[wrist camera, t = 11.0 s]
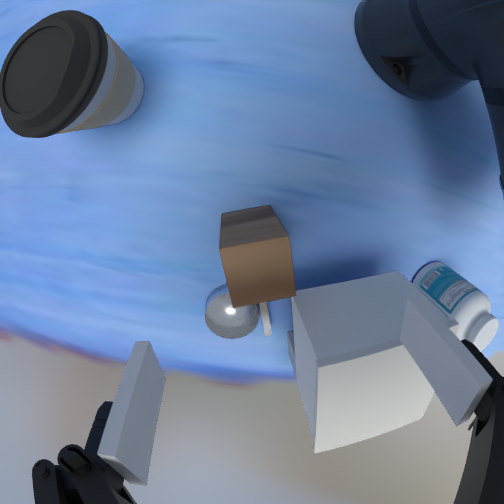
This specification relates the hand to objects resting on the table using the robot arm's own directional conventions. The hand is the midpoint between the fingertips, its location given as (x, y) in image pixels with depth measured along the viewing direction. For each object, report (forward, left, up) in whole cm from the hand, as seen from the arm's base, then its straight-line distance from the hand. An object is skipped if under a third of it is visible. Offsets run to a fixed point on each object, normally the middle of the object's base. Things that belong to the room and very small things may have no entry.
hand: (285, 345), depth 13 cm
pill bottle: (+12, +24, -19) cm, 32 cm away
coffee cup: (-17, -12, -19) cm, 28 cm away
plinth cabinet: (+12, +9, -19) cm, 24 cm away
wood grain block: (+5, 0, -18) cm, 19 cm away
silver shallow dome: (+9, -4, -19) cm, 21 cm away
